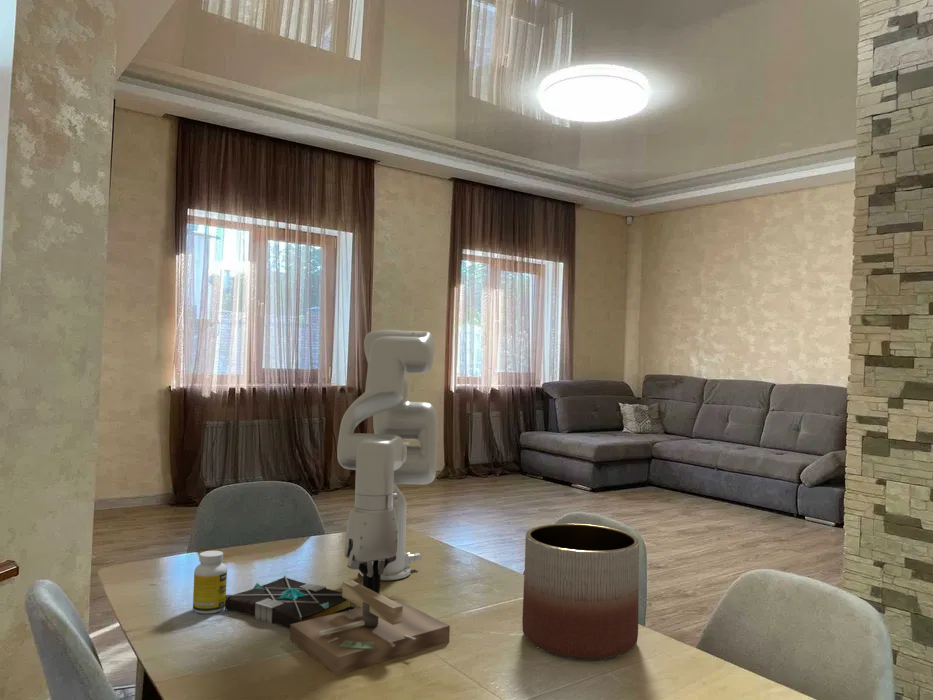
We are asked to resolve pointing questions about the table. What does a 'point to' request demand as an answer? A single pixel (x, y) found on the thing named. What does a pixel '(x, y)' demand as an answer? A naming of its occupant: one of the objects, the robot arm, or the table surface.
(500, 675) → the table surface
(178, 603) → the table surface
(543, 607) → the planter
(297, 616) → the book
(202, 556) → the pill bottle
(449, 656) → the table surface
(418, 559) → the robot arm
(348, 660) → the dial board
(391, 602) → the wooden lever
